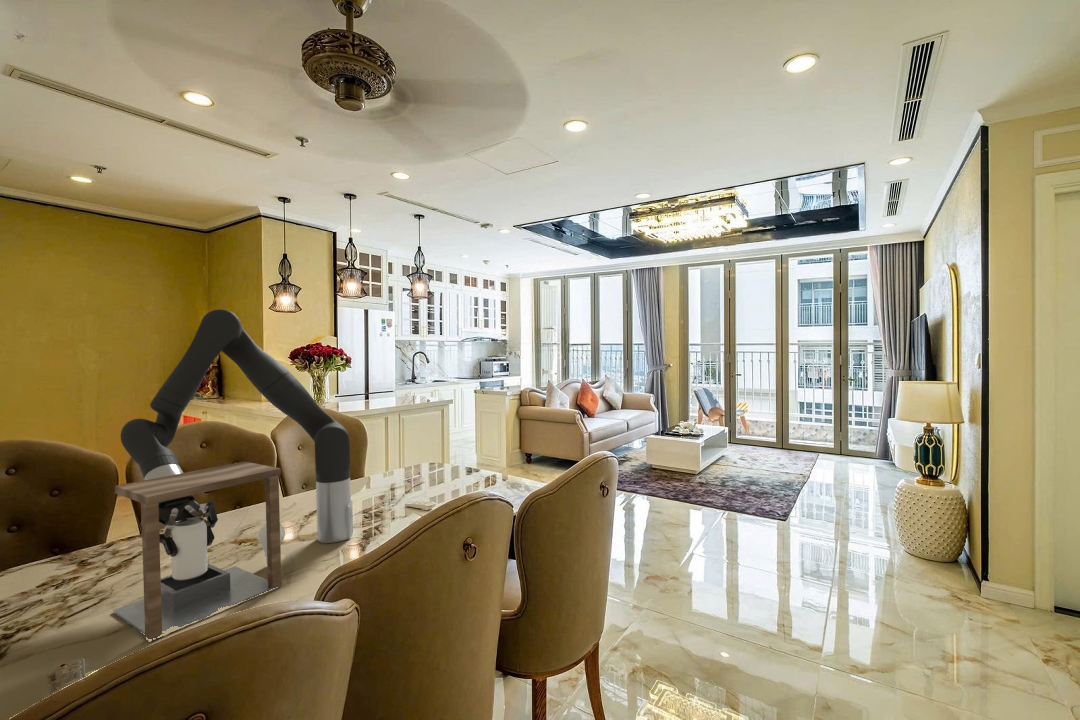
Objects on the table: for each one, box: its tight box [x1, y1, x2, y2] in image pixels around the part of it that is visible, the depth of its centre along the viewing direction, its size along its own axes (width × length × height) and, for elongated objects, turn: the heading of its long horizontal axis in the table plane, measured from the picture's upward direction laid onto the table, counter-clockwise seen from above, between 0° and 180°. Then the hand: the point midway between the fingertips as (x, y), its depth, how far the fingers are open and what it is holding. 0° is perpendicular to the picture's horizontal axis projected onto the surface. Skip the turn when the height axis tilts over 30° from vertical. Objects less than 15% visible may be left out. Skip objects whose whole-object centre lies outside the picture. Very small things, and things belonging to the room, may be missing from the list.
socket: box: [112, 562, 279, 642], centre depth 106 cm, size 20×24×4 cm
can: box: [171, 517, 209, 581], centre depth 108 cm, size 6×6×12 cm
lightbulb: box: [257, 523, 286, 563], centre depth 122 cm, size 6×6×11 cm
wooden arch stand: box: [114, 461, 283, 643], centre depth 104 cm, size 16×25×28 cm, turn 148°
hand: (193, 548), depth 107 cm, fingers closed on can, 6 cm apart
